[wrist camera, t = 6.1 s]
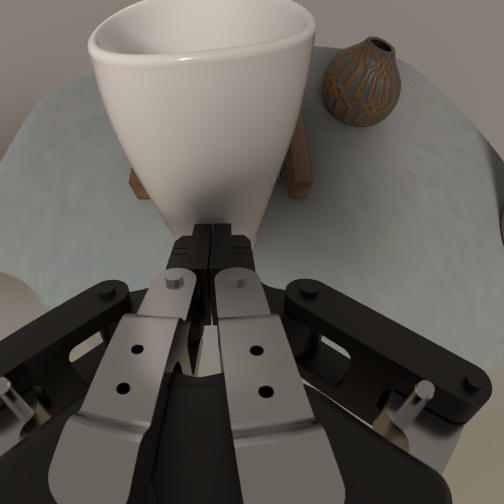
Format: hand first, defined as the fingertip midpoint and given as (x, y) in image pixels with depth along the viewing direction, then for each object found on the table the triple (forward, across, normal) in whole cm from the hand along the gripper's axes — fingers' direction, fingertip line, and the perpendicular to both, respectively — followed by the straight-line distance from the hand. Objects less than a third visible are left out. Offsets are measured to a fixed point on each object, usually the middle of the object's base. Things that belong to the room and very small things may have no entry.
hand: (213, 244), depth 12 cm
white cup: (+7, 0, +3) cm, 8 cm away
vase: (+17, -12, -6) cm, 21 cm away
